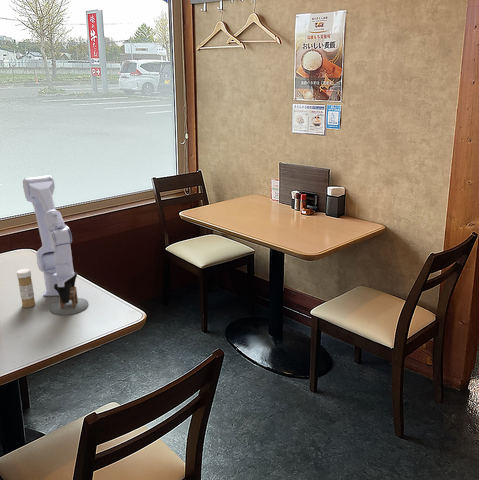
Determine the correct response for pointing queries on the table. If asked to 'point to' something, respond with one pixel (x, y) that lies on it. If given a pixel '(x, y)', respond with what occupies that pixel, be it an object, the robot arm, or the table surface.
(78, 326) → the table surface
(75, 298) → the stool
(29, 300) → the sprinkles bottle
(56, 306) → the mat
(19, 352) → the table surface
